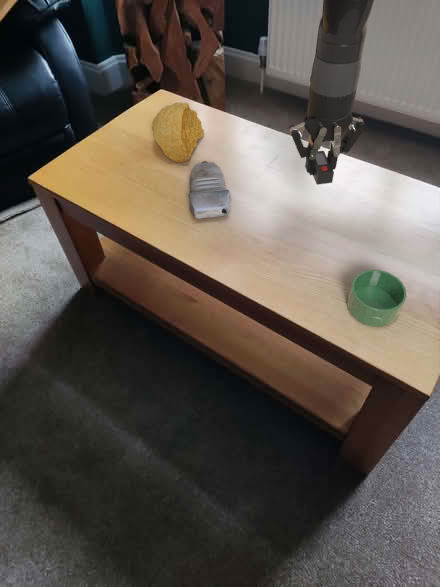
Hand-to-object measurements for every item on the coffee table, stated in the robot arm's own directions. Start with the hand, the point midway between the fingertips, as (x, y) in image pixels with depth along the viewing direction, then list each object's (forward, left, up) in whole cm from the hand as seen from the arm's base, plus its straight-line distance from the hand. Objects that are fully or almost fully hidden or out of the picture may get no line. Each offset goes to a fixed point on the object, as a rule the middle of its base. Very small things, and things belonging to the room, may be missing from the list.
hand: (319, 171), depth 83 cm
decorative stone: (+26, -37, -15) cm, 47 cm away
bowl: (-6, +23, -15) cm, 28 cm away
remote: (0, 0, 0) cm, 0 cm away
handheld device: (+21, -16, -15) cm, 30 cm away
